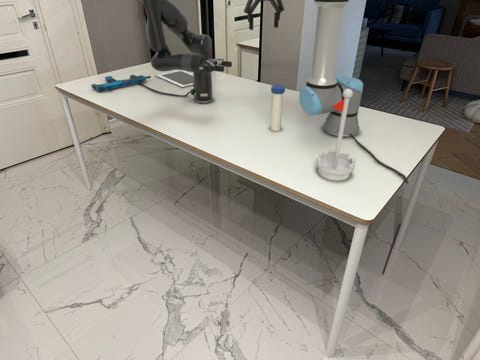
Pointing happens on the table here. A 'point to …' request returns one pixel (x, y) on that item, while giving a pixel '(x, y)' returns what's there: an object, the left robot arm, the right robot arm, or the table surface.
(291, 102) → the table surface
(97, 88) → the submachine gun
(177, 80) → the tablet
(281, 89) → the lid
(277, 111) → the tube
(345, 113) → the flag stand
